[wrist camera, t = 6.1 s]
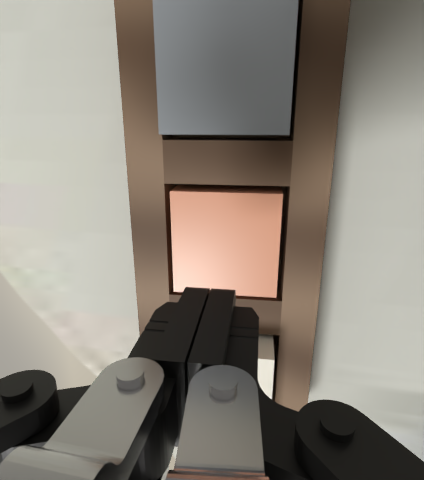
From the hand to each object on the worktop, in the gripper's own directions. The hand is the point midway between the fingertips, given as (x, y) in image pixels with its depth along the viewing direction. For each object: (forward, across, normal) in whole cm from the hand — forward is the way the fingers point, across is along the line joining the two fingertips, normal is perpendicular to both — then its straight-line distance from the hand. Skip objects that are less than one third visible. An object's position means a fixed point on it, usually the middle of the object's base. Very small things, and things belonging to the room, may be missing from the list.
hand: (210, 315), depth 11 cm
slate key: (+7, 0, -8) cm, 10 cm away
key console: (+9, 0, 0) cm, 9 cm away
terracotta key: (+8, 0, 0) cm, 8 cm away
